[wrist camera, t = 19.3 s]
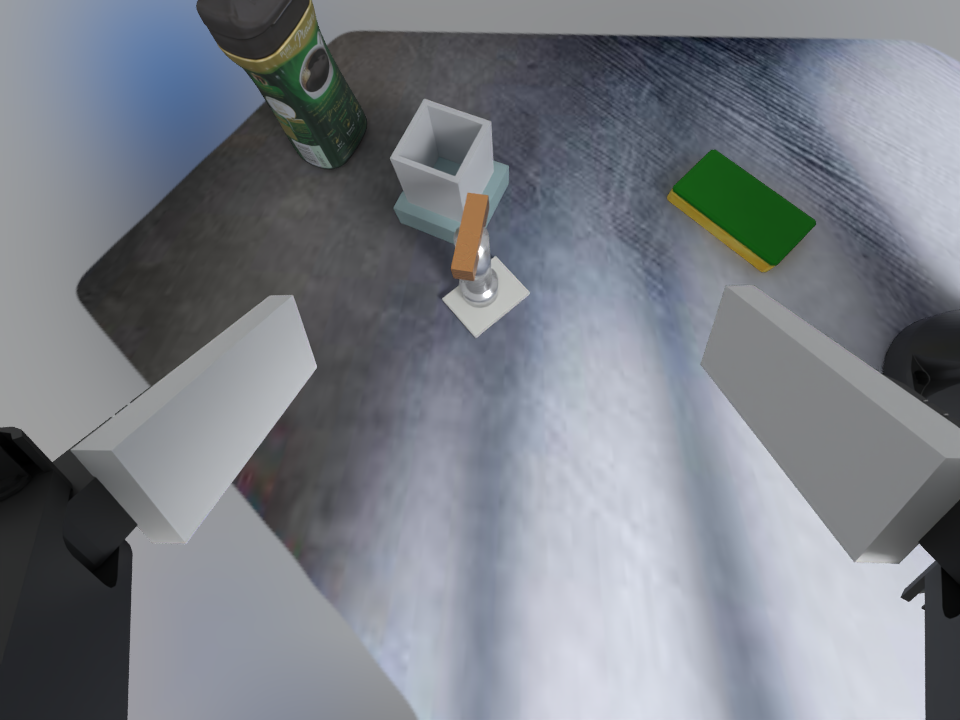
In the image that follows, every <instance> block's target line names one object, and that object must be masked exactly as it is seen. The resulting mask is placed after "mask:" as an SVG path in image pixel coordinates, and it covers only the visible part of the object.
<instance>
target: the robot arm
mask: <svg viewBox="0 0 960 720" xmlns="http://www.w3.org/2000/svg"><path fill="white" fill-rule="evenodd" d="M701 366H702V367H703V368H704V370H705V371H706V372H707V373H708V375H709V376H710V377H711V379H712V380H713V381H714V382H715V384H716V385H717V386H718V388H719V389H720V390H721V391H722V393H723V394H724V395H725V397H726V398H727V399H728V400H729V402H730V403H731V404H732V406H733V407H734V408H735V409H736V411H737V412H738V413H739V415H740V416H741V417H742V418H743V420H744V421H745V422H746V424H747V425H748V426H749V427H750V429H751V430H752V431H753V433H754V434H755V435H756V436H757V438H758V439H759V440H760V442H761V443H762V444H763V445H764V447H765V448H766V449H767V451H768V452H769V453H770V454H771V456H772V457H773V458H774V460H775V461H776V462H777V463H778V465H779V466H780V467H781V469H782V470H783V471H784V472H785V474H786V475H787V476H788V478H789V479H790V480H791V481H792V483H793V484H794V485H795V487H796V488H797V489H798V490H799V492H800V493H801V494H802V496H803V497H804V498H805V499H806V501H807V502H808V503H809V505H810V506H811V507H812V509H813V510H814V511H815V512H816V514H817V515H818V516H819V518H820V519H821V520H822V521H823V523H824V524H825V525H826V527H827V528H828V529H829V530H830V532H831V533H832V534H833V536H834V537H835V538H836V539H837V541H838V542H839V543H840V545H841V546H842V547H843V548H844V550H845V551H846V552H847V554H848V555H849V556H850V557H851V559H852V560H853V561H854V562H855V563H891V564H899V563H900V562H901V561H902V560H903V559H904V558H905V557H906V556H907V555H908V554H909V553H910V552H911V551H912V550H913V549H914V548H915V547H916V546H917V545H918V544H920V545H921V546H922V547H923V548H924V549H925V550H926V551H927V552H928V553H929V554H930V555H931V556H932V557H933V558H934V559H935V560H936V561H935V562H934V563H932V564H931V565H930V566H929V567H928V568H927V569H926V570H925V571H924V572H923V573H922V574H921V575H920V576H918V577H917V578H916V579H915V580H914V581H913V582H912V583H911V584H910V585H909V586H908V587H907V588H905V589H904V591H903V593H902V596H901V598H902V599H904V600H906V601H908V602H909V601H911V600H912V599H913V598H914V597H915V596H916V595H917V594H919V593H925V605H923V606H922V609H924V610H925V710H926V720H960V310H954V311H949V312H945V313H942V314H939V315H935V316H932V317H928V318H925V319H922V320H919V321H917V322H915V323H913V324H911V325H910V326H908V327H907V328H905V329H904V330H903V331H902V332H901V333H900V334H899V335H898V336H897V337H896V338H895V339H894V341H893V342H892V344H891V346H890V347H889V350H888V352H887V355H886V358H885V363H884V374H882V373H879V372H878V371H877V370H875V369H874V368H872V367H871V366H869V365H868V364H866V363H865V362H864V361H862V360H861V359H859V358H858V357H856V356H855V355H853V354H852V353H851V352H849V351H848V350H846V349H845V348H843V347H842V346H840V345H839V344H838V343H836V342H835V341H833V340H832V339H830V338H829V337H828V336H826V335H825V334H823V333H822V332H820V331H819V330H817V329H816V328H815V327H813V326H812V325H810V324H809V323H807V322H806V321H804V320H803V319H802V318H800V317H799V316H797V315H796V314H794V313H793V312H791V311H790V310H789V309H787V308H786V307H784V306H783V305H781V304H780V303H778V302H777V301H776V300H774V299H773V298H771V297H770V296H768V295H767V294H765V293H764V292H763V291H761V290H760V289H758V288H757V287H755V286H754V285H731V286H725V289H724V292H723V296H722V299H721V302H720V305H719V308H718V311H717V314H716V317H715V321H714V324H713V327H712V330H711V333H710V336H709V339H708V343H707V346H706V349H705V352H704V355H703V358H702V361H701ZM316 368H317V365H316V362H315V359H314V356H313V353H312V350H311V347H310V344H309V341H308V338H307V335H306V332H305V329H304V326H303V323H302V320H301V317H300V314H299V311H298V308H297V305H296V302H295V299H294V297H293V295H272V296H269V297H267V298H266V299H265V300H263V301H262V302H261V303H260V304H258V305H257V306H256V307H254V308H253V309H252V310H251V311H249V312H248V313H247V314H245V315H244V316H243V317H241V318H240V319H239V320H238V321H236V322H235V323H234V324H232V325H231V326H230V327H229V328H227V329H226V330H225V331H223V332H222V333H221V334H220V335H218V336H217V337H216V338H214V339H213V340H212V341H210V342H209V343H208V344H207V345H205V346H204V347H203V348H201V349H200V350H199V351H198V352H196V353H195V354H194V355H192V356H191V357H190V358H189V359H187V360H186V361H185V362H183V363H182V364H181V365H179V366H178V367H177V368H176V369H174V370H173V371H172V372H170V373H169V374H168V375H167V376H165V377H164V378H163V379H161V380H160V381H159V382H158V383H156V384H155V385H154V386H152V387H150V388H148V389H147V390H145V391H144V392H143V393H142V394H140V395H139V396H138V397H136V398H135V399H134V400H133V401H131V402H130V404H129V405H126V406H125V407H123V408H122V409H121V410H120V411H118V412H117V413H116V414H115V416H114V417H110V418H109V419H108V420H107V421H105V422H104V423H103V424H101V425H100V426H99V427H98V428H96V429H95V430H94V431H92V432H91V433H90V434H89V435H87V436H86V437H84V438H83V439H82V440H81V441H79V442H78V443H77V444H75V445H74V446H73V447H72V448H70V449H69V450H68V451H66V452H65V453H64V454H62V455H61V456H60V457H59V458H57V459H56V460H55V461H53V462H51V461H50V460H49V458H48V457H47V456H46V455H45V454H44V453H43V452H42V451H41V450H40V449H39V448H38V447H37V446H36V445H35V444H34V442H33V441H32V440H31V439H30V438H29V437H28V436H27V435H26V434H25V433H24V432H23V431H22V430H21V429H18V428H15V427H3V428H0V720H127V714H128V711H127V710H128V682H129V681H128V679H129V649H130V617H131V616H130V615H131V584H132V583H131V582H132V550H131V547H130V545H129V544H128V543H127V541H125V538H126V537H127V536H128V535H129V534H130V533H131V532H132V530H133V529H134V528H135V527H136V526H138V528H139V529H140V530H141V531H142V532H143V533H144V534H145V536H146V537H147V538H148V539H149V540H150V541H151V542H152V543H170V544H187V542H188V541H189V540H190V538H191V537H192V535H193V534H194V533H195V531H196V530H197V529H198V527H199V526H200V525H201V523H202V522H203V521H204V519H205V518H206V517H207V515H208V514H209V513H210V511H211V510H212V508H213V507H214V506H215V504H216V503H217V502H218V500H219V499H220V498H221V496H222V495H223V494H224V492H225V491H226V490H227V488H228V487H229V486H230V484H231V483H232V482H233V480H234V479H235V478H236V476H237V475H238V473H239V472H240V471H241V469H242V468H243V467H244V465H245V464H246V463H247V461H248V460H249V459H250V457H251V456H252V455H253V453H254V452H255V451H256V449H257V448H258V446H259V445H260V444H261V442H262V441H263V440H264V438H265V437H266V436H267V434H268V433H269V432H270V430H271V429H272V428H273V426H274V425H275V424H276V422H277V421H278V419H279V418H280V417H281V415H282V414H283V413H284V411H285V410H286V409H287V407H288V406H289V405H290V403H291V402H292V401H293V399H294V398H295V397H296V395H297V394H298V392H299V391H300V390H301V388H302V387H303V386H304V384H305V383H306V382H307V380H308V379H309V378H310V376H311V375H312V374H313V372H314V371H315V370H316Z"/></svg>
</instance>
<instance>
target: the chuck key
mask: <svg viewBox="0 0 960 720" xmlns="http://www.w3.org/2000/svg"><path fill="white" fill-rule="evenodd" d="M488 213H489V195H483V194H475V193H467V197H466V202H465V206H464V211H463V215H462V220H461V224H460V226H459V227H458V228H457V229H456V231H455V233H454V239H453V240H454V244H455V252H454V256H453V261H452V265H451V271H452V274H453V277H454V278H456V279H459V285H460V289H461V292H462V296H463V298H464V300H465V301H466V302H467V303H468V304H469V305H471V306H473V307H476V308H483V307H487V306H489V305H491V304H492V303H493V302H494V301H495V300H496V298H497V296H498V291H499V290H498V277H497V274H496V272H495V271H494V269H493V268H491V257H490V245H489V234H488V231H487V229H486V228H485V227H486V222H487V218H488Z"/></svg>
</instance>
